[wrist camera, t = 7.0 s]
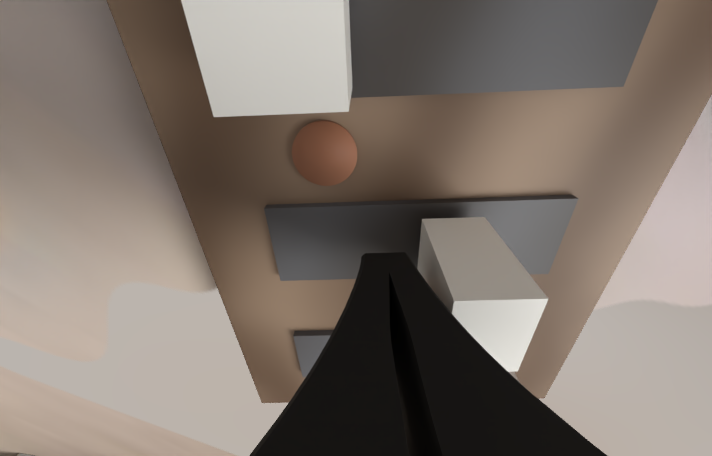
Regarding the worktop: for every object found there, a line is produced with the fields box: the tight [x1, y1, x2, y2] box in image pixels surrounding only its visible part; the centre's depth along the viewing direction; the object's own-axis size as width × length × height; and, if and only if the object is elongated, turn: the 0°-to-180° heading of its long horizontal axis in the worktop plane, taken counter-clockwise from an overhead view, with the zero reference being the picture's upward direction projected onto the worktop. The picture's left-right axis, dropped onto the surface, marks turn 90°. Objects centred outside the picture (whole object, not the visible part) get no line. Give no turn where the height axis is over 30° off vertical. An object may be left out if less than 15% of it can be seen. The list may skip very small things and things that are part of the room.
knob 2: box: [417, 217, 548, 372], centre depth 8 cm, size 2×3×4 cm
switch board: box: [107, 0, 712, 403], centre depth 11 cm, size 16×22×2 cm
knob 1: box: [181, 0, 352, 117], centre depth 5 cm, size 2×3×4 cm
